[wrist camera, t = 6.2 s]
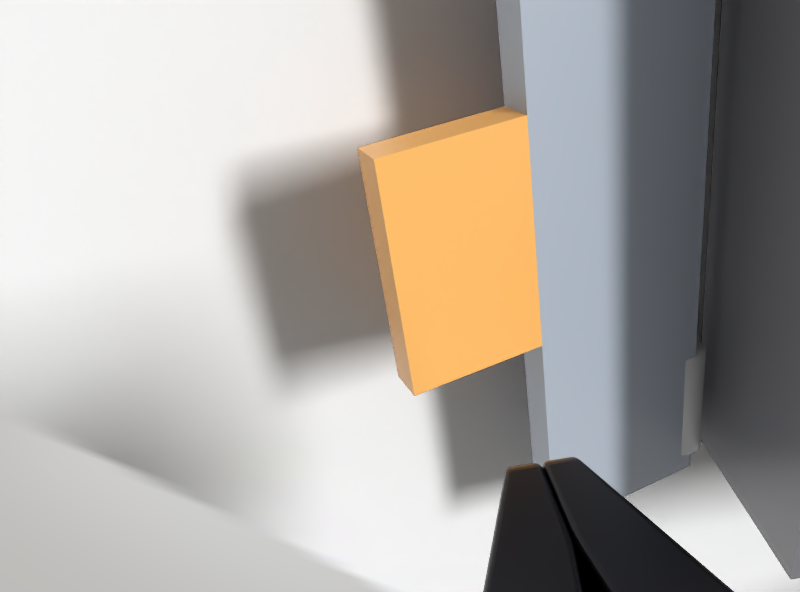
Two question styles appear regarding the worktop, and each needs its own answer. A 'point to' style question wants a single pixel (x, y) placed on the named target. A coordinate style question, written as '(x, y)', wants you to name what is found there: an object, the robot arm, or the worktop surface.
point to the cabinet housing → (756, 270)
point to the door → (564, 231)
